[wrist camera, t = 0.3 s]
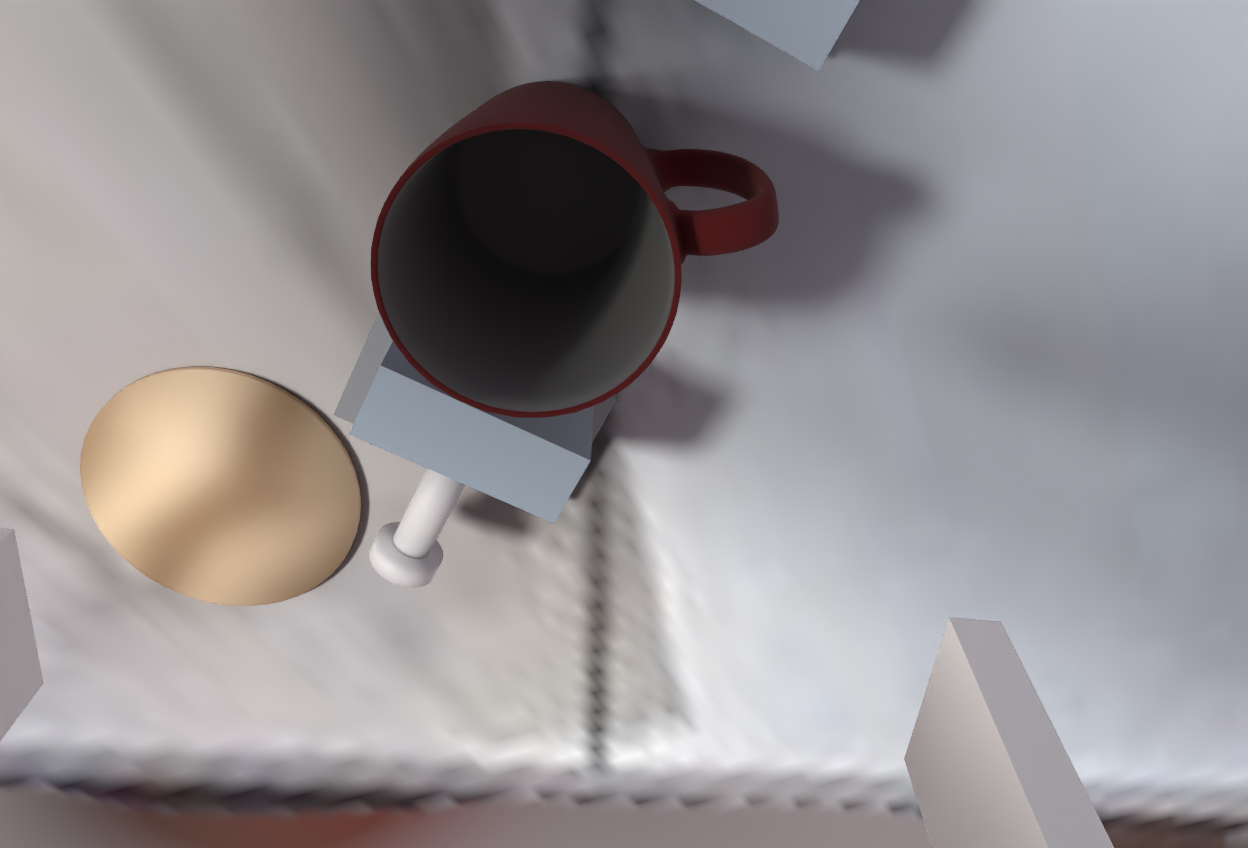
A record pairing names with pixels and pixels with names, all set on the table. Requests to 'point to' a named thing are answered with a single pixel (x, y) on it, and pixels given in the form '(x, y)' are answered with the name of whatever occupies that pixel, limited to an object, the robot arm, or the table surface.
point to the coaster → (220, 486)
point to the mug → (548, 250)
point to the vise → (498, 444)
